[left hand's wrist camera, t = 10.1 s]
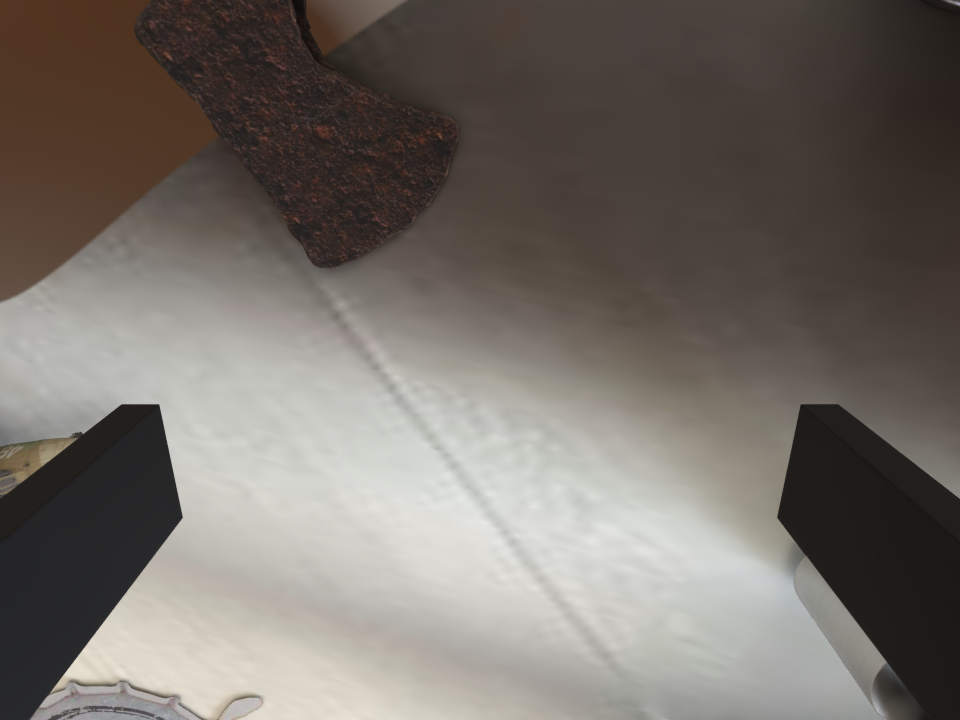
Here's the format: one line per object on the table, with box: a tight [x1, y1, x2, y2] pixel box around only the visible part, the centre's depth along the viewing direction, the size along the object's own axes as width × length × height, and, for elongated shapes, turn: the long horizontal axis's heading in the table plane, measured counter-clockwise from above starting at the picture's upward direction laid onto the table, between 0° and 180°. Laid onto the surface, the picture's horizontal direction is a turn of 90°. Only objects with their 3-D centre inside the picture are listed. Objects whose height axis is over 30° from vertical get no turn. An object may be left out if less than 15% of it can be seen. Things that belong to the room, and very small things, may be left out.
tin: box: [794, 555, 930, 720], centre depth 46 cm, size 8×8×11 cm
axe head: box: [134, 0, 459, 268], centre depth 38 cm, size 18×8×15 cm
